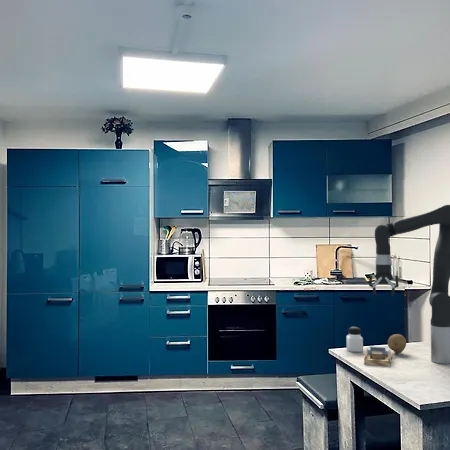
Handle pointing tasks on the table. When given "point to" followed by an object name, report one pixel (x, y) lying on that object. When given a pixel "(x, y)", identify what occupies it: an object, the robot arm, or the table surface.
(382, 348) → the cover
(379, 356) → the block
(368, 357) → the wooden tray
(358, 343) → the medicine bottle
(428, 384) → the table surface
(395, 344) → the natural sponge
